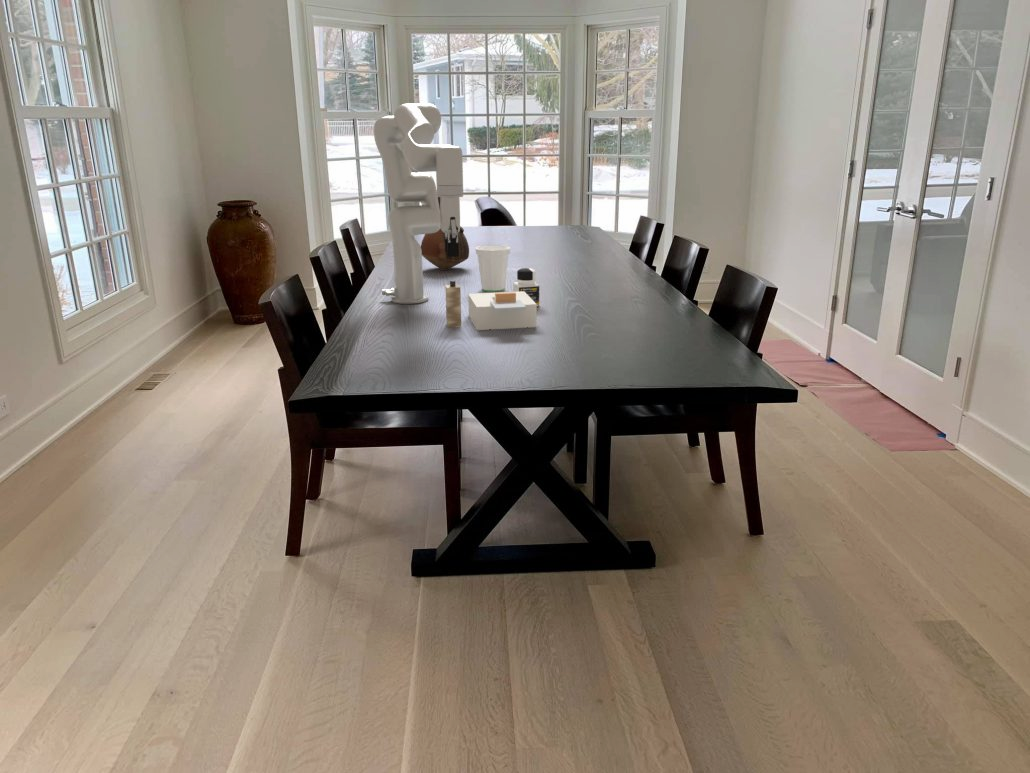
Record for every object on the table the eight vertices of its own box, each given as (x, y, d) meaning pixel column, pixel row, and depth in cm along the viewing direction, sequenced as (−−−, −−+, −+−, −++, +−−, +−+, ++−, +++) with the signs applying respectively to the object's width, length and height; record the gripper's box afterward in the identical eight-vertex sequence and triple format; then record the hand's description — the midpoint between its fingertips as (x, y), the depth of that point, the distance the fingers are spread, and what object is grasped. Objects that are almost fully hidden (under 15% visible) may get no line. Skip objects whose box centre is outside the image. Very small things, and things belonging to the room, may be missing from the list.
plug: (448, 327, 225) (446, 282, 220) (446, 324, 229) (445, 280, 224) (461, 326, 226) (460, 282, 221) (459, 323, 229) (458, 279, 225)
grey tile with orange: (495, 310, 215) (495, 300, 214) (490, 303, 223) (490, 293, 222) (526, 309, 216) (526, 298, 215) (519, 302, 225) (519, 291, 224)
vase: (470, 275, 300) (468, 198, 290) (420, 275, 298) (416, 198, 288) (468, 263, 323) (467, 192, 313) (422, 264, 322) (419, 192, 311)
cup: (469, 291, 272) (468, 248, 267) (487, 284, 282) (486, 244, 277) (500, 294, 266) (499, 251, 261) (516, 288, 277) (516, 246, 272)
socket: (477, 330, 222) (476, 307, 220) (468, 315, 238) (468, 293, 236) (536, 327, 225) (536, 304, 223) (524, 312, 242) (524, 291, 239)
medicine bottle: (518, 307, 248) (518, 271, 244) (513, 302, 255) (513, 267, 251) (539, 306, 250) (539, 270, 246) (533, 301, 257) (533, 266, 253)
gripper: (434, 188, 221) (436, 250, 227) (439, 194, 205) (442, 260, 211) (459, 188, 223) (460, 249, 229) (467, 193, 207) (468, 259, 213)
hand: (451, 253), depth 220 cm, fingers open, 6 cm apart
